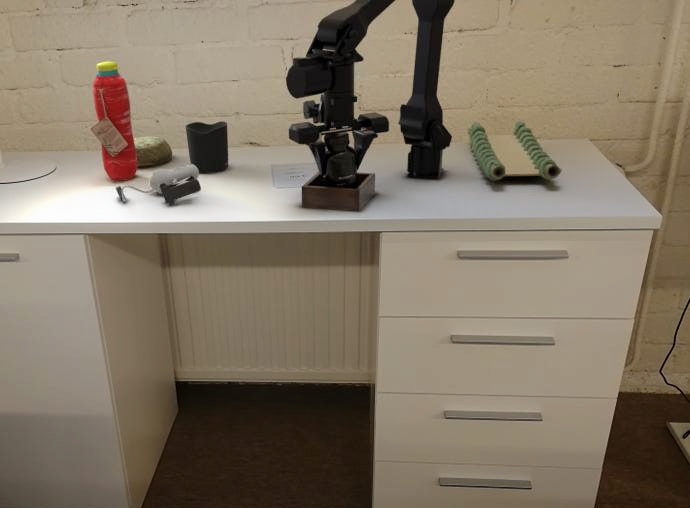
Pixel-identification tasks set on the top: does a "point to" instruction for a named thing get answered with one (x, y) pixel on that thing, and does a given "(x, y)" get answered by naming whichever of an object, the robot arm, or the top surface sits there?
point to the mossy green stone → (152, 151)
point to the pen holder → (208, 146)
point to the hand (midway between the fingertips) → (339, 172)
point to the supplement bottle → (339, 162)
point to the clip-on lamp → (171, 183)
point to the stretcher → (511, 154)
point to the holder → (338, 193)
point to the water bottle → (114, 122)
